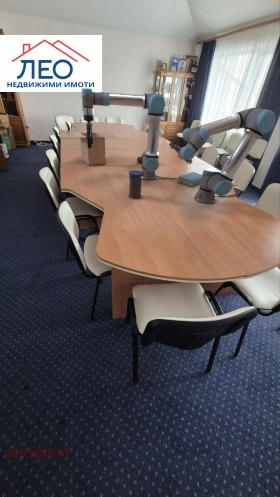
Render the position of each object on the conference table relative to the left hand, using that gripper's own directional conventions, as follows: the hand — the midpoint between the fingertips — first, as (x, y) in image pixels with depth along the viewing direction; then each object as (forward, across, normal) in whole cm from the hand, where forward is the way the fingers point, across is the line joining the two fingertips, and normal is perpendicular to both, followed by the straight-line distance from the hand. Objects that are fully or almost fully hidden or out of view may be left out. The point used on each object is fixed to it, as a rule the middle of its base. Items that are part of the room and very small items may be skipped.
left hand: (90, 146), depth 173 cm
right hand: (-2, +22, +66) cm, 69 cm away
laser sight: (+28, -57, +54) cm, 84 cm away
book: (+28, -3, +89) cm, 94 cm away
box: (+28, -60, -4) cm, 66 cm away
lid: (+10, +31, +34) cm, 47 cm away
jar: (+28, +31, +34) cm, 53 cm away
